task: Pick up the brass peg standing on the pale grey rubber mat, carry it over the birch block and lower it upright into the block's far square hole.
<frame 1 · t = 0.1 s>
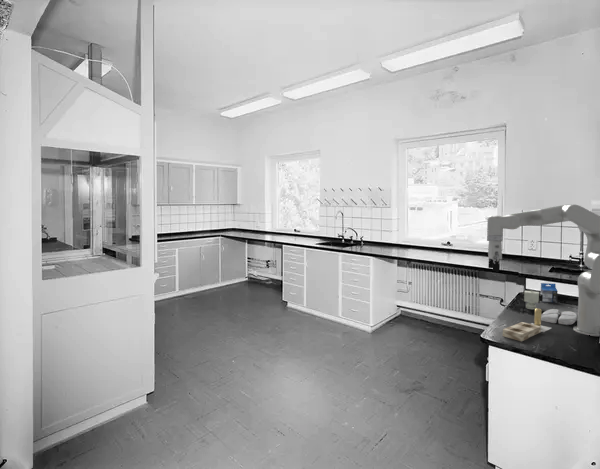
hand: (493, 269, 195), 31 cm above the countertop, tool pointing down, fingers open, 9 cm apart
pneumatic valve: (531, 309, 228), on the countertop
label tape cartridge: (548, 302, 244), on the countertop
hole block: (521, 334, 183), on the countertop
brass peg: (537, 327, 192), resting on rubber mat
rubber mat: (537, 328, 192), on the countertop
lung model: (559, 320, 207), on the countertop
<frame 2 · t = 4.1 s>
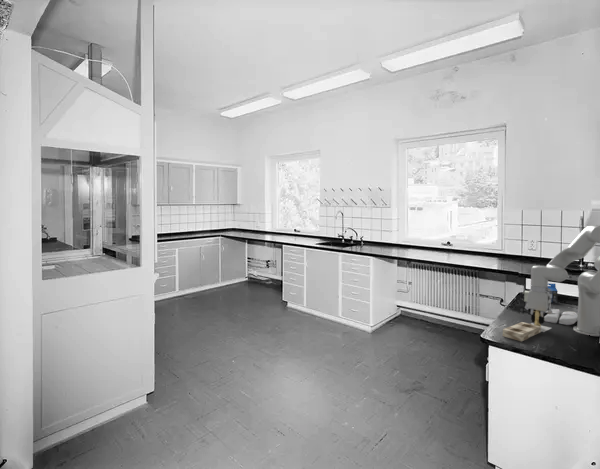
hand: (537, 322, 192), 3 cm above the countertop, tool pointing down, fingers closed on brass peg, 3 cm apart
brass peg: (537, 327, 192), resting on rubber mat, touching gripper
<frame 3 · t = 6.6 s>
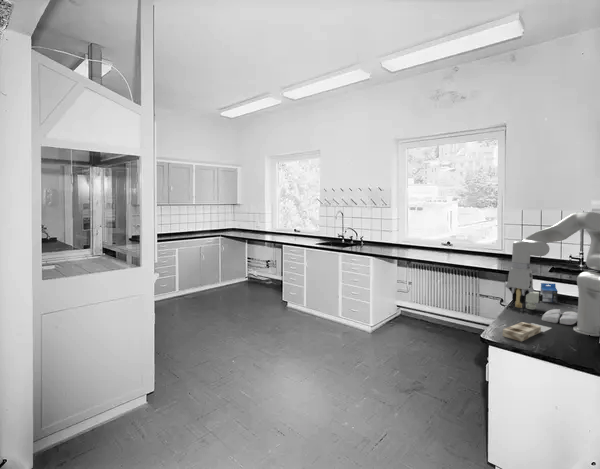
hand: (518, 301, 180), 18 cm above the countertop, tool pointing down, fingers closed on brass peg, 3 cm apart
brass peg: (518, 306, 180), point 15 cm above the countertop, touching gripper
when the fingers open (5 cm above the countertop, at t = 9.1 s): brass peg drops 2 cm, resting in hole block.
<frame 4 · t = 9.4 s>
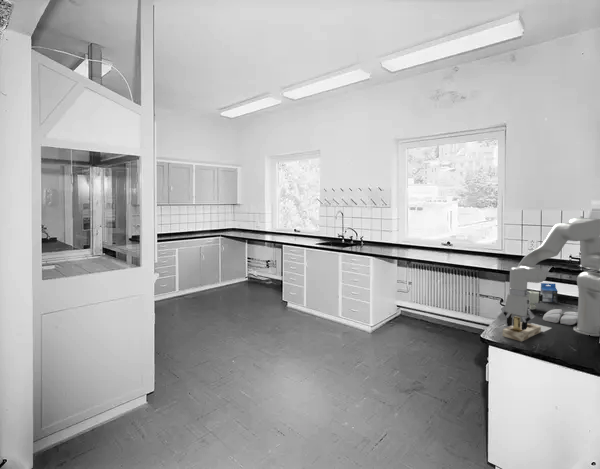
hand: (516, 327, 180), 5 cm above the countertop, tool pointing down, fingers open, 6 cm apart
brass peg: (516, 336, 180), resting in hole block
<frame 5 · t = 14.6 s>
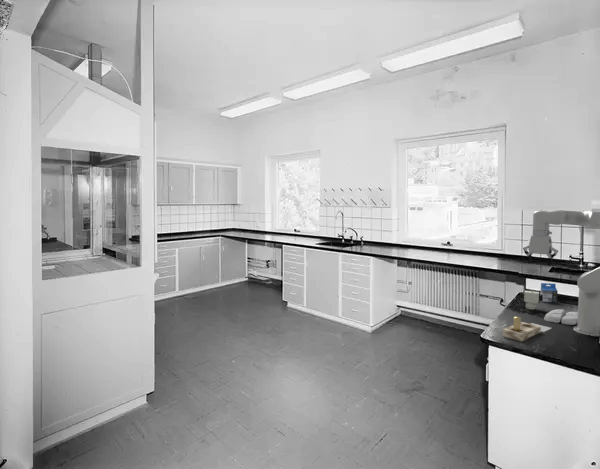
hand: (539, 264, 198), 33 cm above the countertop, tool pointing down, fingers open, 9 cm apart
at the end: brass peg 0.1 cm from the target spot on the hole block, point 0.0 cm above the hole block's base; brass peg tilted 0°; the gripper is holding nothing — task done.
